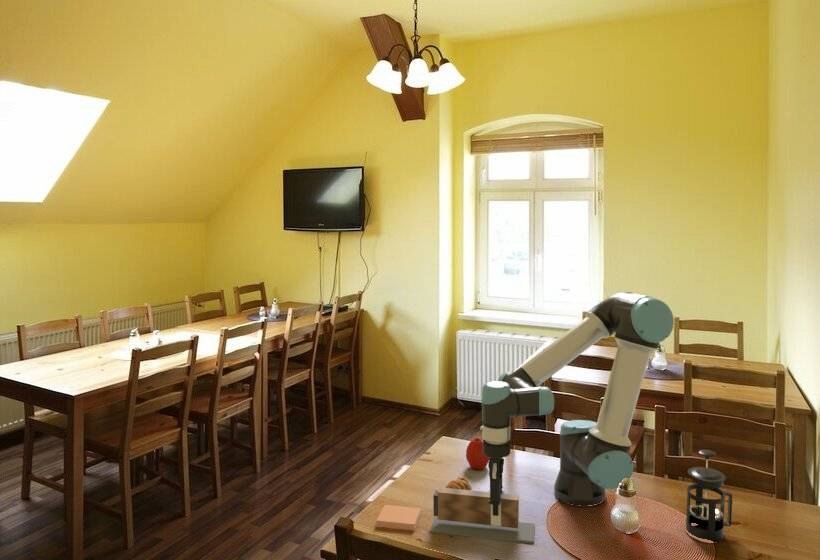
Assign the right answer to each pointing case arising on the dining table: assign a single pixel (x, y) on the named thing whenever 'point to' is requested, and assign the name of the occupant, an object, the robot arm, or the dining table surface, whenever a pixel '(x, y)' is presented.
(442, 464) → the dining table surface
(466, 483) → the pastry
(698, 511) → the french press
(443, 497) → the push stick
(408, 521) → the tile
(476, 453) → the red vase
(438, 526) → the mat
